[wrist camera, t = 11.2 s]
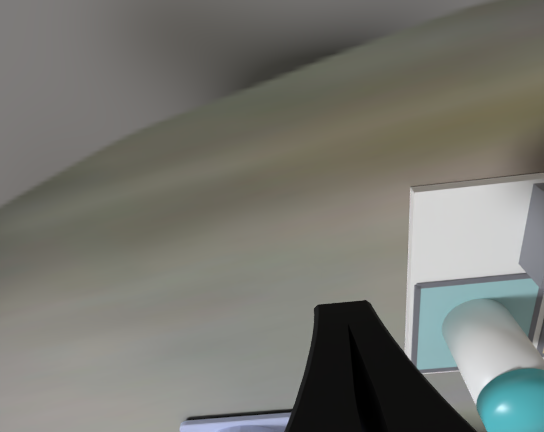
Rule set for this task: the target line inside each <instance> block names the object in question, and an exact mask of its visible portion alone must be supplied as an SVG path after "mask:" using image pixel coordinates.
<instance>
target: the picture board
mask: <svg viewBox="0 0 544 432" xmlns="http://www.w3.org/2000/svg"><path fill="white" fill-rule="evenodd" d="M474 299H491V300H495V301H497V302H499V303H501V304H502V305H504V306H505V307H506V308H507V310H508V311H509V312H510V314H511V315H512V316H513V318H514V319H515V320H516V322H517V323H518V325H519V326H520V327H521V329H522V330H523V331H524V333H525V334H526V335H527V337H528V338H529V340H530V341H531V342H532V344H533V345H534V346H535V348H536V349H537V350H538V352H539V353H540V355H541V356H542V357H543V359H544V173H535V174H526V175H517V176H508V177H498V178H489V179H480V180H471V181H462V182H453V183H444V184H434V185H425V186H416V187H410V213H409V241H408V270H407V299H406V327H405V354H406V355H407V356H408V358H409V359H410V360H411V361H412V363H413V364H414V365H415V366H416V368H417V369H418V370H419V371H420V372H421V373H422V374H429V373H441V372H453V371H459V369H458V367H457V364H456V362H455V360H454V358H453V356H452V354H451V352H450V350H449V348H448V346H447V344H446V341H445V339H444V337H443V335H442V324H443V321H444V319H445V317H446V316H447V314H448V313H449V312H450V311H451V310H452V309H454V308H455V307H456V306H458V305H460V304H462V303H464V302H466V301H469V300H474Z"/></svg>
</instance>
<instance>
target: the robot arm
mask: <svg viewBox="0 0 544 432" xmlns="http://www.w3.org/2000/svg"><path fill="white" fill-rule="evenodd" d="M180 432H477V431H476V430H475V429H474V428H473V427H472V426H471V425H470V424H469V423H468V422H467V421H466V420H465V419H464V418H463V417H461V416H460V415H459V414H458V413H457V412H456V411H455V409H454V408H453V407H452V406H451V405H450V404H449V403H448V402H447V401H446V400H445V399H444V398H443V397H442V396H441V395H440V394H439V393H438V392H437V390H436V389H435V388H434V387H433V386H432V385H431V384H430V383H429V382H428V380H427V379H426V378H425V377H424V376H423V375H422V373H421V372H420V371H419V370H418V369H417V368H416V366H415V365H414V364H413V363H412V361H411V360H410V359H409V358H408V356H407V355H406V354H405V353H404V352H403V350H402V349H401V348H400V346H399V345H398V344H397V342H396V341H395V340H394V338H393V337H392V336H391V334H390V333H389V332H388V330H387V329H386V327H385V326H384V324H383V323H382V321H381V320H380V318H379V317H378V315H377V314H376V312H375V310H374V309H373V307H372V305H371V304H370V303H369V302H368V301H366V300H364V301H353V302H342V303H332V304H321V305H317V306H316V307H315V308H314V329H313V336H312V341H311V347H310V351H309V355H308V360H307V364H306V368H305V372H304V376H303V379H302V382H301V385H300V388H299V392H298V395H297V398H296V401H295V404H294V407H293V410H292V412H290V413H277V414H264V415H251V416H238V417H226V418H213V419H200V420H187V421H183V422H182V423H181V425H180Z"/></svg>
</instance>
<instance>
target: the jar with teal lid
mask: <svg viewBox="0 0 544 432" xmlns="http://www.w3.org/2000/svg"><path fill="white" fill-rule="evenodd" d="M442 335H443V337H444V339H445V341H446V344H447V346H448V348H449V350H450V352H451V354H452V356H453V358H454V360H455V362H456V364H457V367H458V369H459V371H460V373H461V375H462V377H463V379H464V381H465V383H466V385H467V387H468V390H469V392H470V394H471V396H472V398H473V400H474V402H475V404H476V406H477V411H478V413H479V415H480V417H481V419H482V422H483V424H484V426H485V428H486V430H487V432H544V359H543V357H542V356H541V355H540V353H539V352H538V350H537V349H536V348H535V346H534V345H533V344H532V342H531V341H530V340H529V338H528V337H527V335H526V334H525V333H524V331H523V330H522V329H521V327H520V326H519V325H518V323H517V322H516V320H515V319H514V318H513V316H512V315H511V314H510V312H509V311H508V310H507V308H506V307H505V306H504V305H502V304H501V303H499V302H497V301H495V300H491V299H474V300H469V301H466V302H464V303H462V304H460V305H458V306H456V307H455V308H454V309H452V310H451V311H450V312H449V313H448V314H447V316H446V317H445V319H444V321H443V324H442Z"/></svg>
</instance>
